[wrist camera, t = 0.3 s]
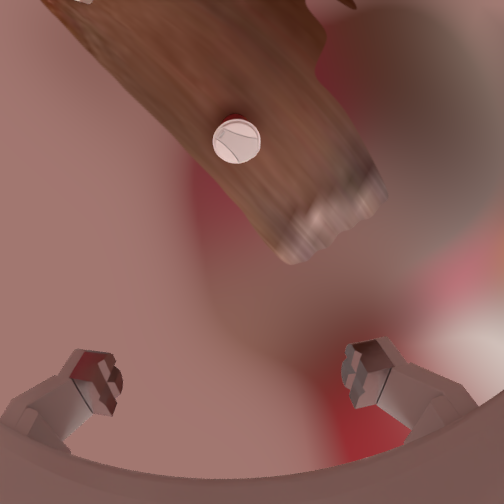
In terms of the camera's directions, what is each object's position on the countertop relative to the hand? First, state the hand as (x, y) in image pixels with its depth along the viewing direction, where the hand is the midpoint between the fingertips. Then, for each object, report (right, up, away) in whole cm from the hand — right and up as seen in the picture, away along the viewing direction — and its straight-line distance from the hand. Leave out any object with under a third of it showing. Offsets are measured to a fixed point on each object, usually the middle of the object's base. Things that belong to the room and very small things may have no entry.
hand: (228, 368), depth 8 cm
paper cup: (-3, +29, +43) cm, 52 cm away
